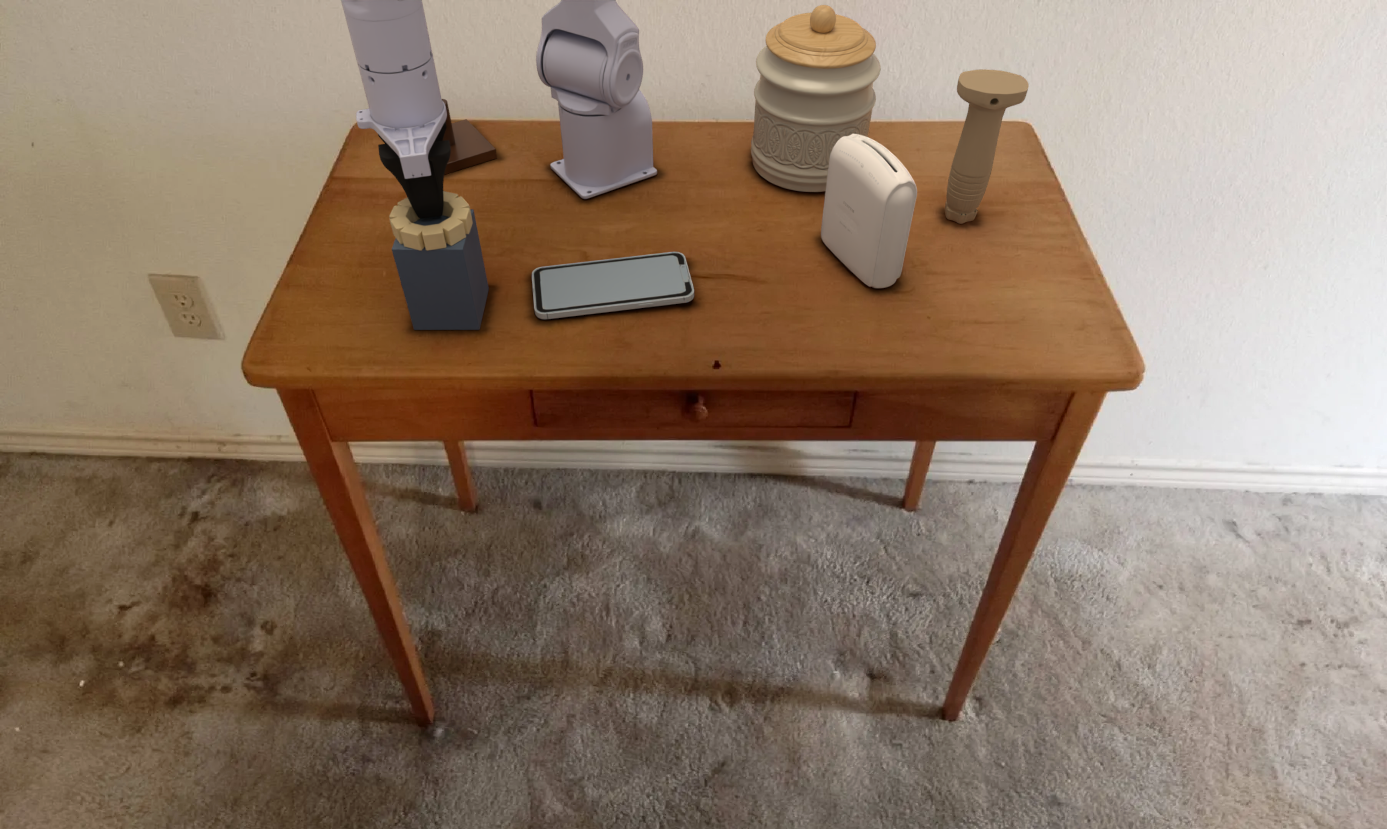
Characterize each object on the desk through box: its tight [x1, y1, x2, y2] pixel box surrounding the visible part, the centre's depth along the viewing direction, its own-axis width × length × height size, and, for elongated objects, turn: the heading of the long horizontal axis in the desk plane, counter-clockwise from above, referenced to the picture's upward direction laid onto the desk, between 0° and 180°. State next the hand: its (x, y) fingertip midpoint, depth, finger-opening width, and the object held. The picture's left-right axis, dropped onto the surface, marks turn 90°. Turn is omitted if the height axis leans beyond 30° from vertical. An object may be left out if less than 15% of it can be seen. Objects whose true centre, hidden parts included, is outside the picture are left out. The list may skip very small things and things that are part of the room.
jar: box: [750, 4, 882, 193], centre depth 98 cm, size 13×13×18 cm
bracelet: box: [388, 190, 473, 251], centre depth 79 cm, size 7×7×2 cm
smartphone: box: [531, 251, 695, 320], centre depth 88 cm, size 7×1×15 cm
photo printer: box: [820, 134, 918, 289], centre depth 87 cm, size 10×4×12 cm, turn 26°
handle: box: [944, 68, 1030, 225], centre depth 92 cm, size 5×6×15 cm
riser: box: [391, 208, 490, 331], centre depth 83 cm, size 6×6×9 cm
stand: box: [441, 98, 498, 176], centre depth 103 cm, size 8×8×6 cm
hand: (429, 207), depth 81 cm, fingers closed on bracelet, 2 cm apart
